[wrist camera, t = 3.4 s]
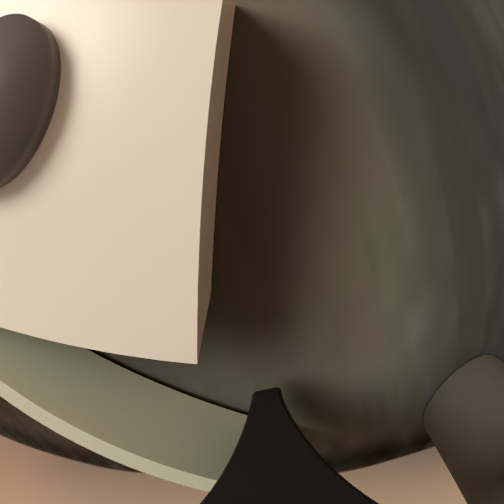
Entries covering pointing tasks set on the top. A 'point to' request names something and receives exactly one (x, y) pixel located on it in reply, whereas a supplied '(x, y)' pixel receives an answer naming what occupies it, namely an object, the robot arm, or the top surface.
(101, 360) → the cream flat bar
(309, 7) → the top surface
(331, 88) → the top surface
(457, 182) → the top surface
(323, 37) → the top surface
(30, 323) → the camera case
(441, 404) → the bottle
